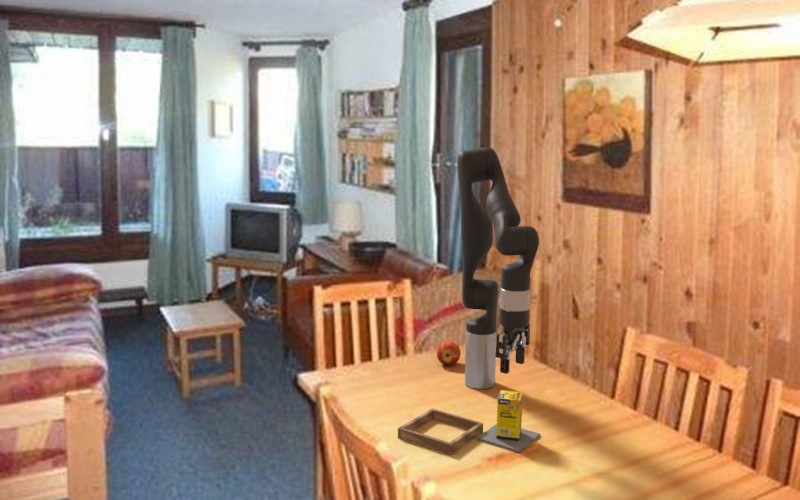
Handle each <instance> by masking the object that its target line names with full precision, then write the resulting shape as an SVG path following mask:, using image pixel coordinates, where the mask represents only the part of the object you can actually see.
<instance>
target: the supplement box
mask: <svg viewBox="0 0 800 500" xmlns="http://www.w3.org/2000/svg"><path fill="white" fill-rule="evenodd" d="M523 397H524V392H520V391H511V390H505V389H504V390H501V389H500V391H499V394H498V396H497V407H496V408H497V411H496V412H497V413H496V424H497V431H496V438H499V439H507V440H515V441H519V437H520V433H521V428H522V422H523V421H522V418H523V417H522V415H523V402H524V401H523V399H524V398H523Z"/></svg>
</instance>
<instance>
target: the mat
mask: <svg viewBox="0 0 800 500" xmlns="http://www.w3.org/2000/svg"><path fill="white" fill-rule="evenodd" d="M496 431H497V423H496V424H494V425H493V426H491V427H490V428H489V429H488V430H486V431H483V432H482V433H481V434H480V435H478V436H477V437H476V440H477V441H479V442H481V443H486V444H488V445H489V444H490V445H492V446H495V447H499V448H502V449H506V450H509V451H512V452H515V453H518V454H519V453H521V452H523V451H524V450H525V449H526V448H527V447H529V446H530V445H531V444H532V443H533V442H535V441H536V440H537V439H538V438H539V437H541V433H538V432H535V431H532V430H528V429H526V428H523V427H521V433H520V437H519V441H515V440H507V439H499V438H496Z"/></svg>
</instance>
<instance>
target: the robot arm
mask: <svg viewBox="0 0 800 500" xmlns="http://www.w3.org/2000/svg"><path fill="white" fill-rule="evenodd" d="M498 156H499V155H498V154H497V153H496V151H495V150H494V149H493V148H492V147H480V148H479V147H478V148H474V149H472V148H471V149H466V150H462V151H460V152H458V154H457V160H456V161H457V162H456V169H457V178H458V180H457V181H458V188H459V199H460V235H461V236H460V240H461V254H462V279H461V280H462V284H461V286H462V287H461V300H462V305H463V306H464V307H465V308H466V309H469V310H480V311H481V310H482V311H485V313H484V314H481V315H480V316H477V317H474V318H473V317H472V318H471V319H469V320H467V322H466V325H465V326H466V327H465V331H466V332H465V357H464V358H465V361H464V362H465V363H464V364H465V365H464V385H466V387H468V388H471V389H477V390H479V389H480V390H484V389H490V388H492V387H494V386H495V382H496V366H497V365H496V362H497V359H500V363H499V365H500V366H499V372H500V373H502V374H506V375H508V374H509V373H510V364H511V363H510V357H511V355H512V353H514V351H515V363H516V364H519V365H523V364H524V363H525V359H526V358H525V354H526V350H527V347H528V346H530V343H531V342H530V341H531V339H530V338H531V337H530V336H531V335H530V334H531V333H530V332H531V323H530V316H531V315H530V312H531V293H530V290H531V289H530V288H531V286H530V285H531V272H532V268H533V265H534V262H535V258H536V255H537V253H538V250H539V245H540V236H539V233H538V231H537V230H536V229H535V228H534V227H533V226H531V225H522V226H521V225H520V224H521V220H522V219H521V214H520V212H519V211H518V209H517V207H516V204H515V203H514V201H513V199H512V196H511V194H510V191H509V189H508V185H507V182H506V177H505V174H504V171H503V168H502V164H501V162H500V158H499V157H498ZM488 181H491V182H492V184H491V187H490V190H489V192H488V194H487V197H486V200H485V201H486V202H485V207H486V210H485V208H484V207H483V206H482V205H481V204H480V202H479V201H478V199H477V197H476V196H475V194H474V190H473V184H475V183H482V182H488ZM493 243H494V244H495V248H496V251H498V253H499V254H500V255H503V256H509V257H510V256H518V258H517V260H515V261H513V262H511V263H507V264H505V265H503V266H502V268H501V278H500V282H501V283H500V293H499V285H498V282H497V281H496V280H495V279H494V280H492V279H481V278H480V279H478V278H477V279H475V278H474V275H475V272H476V270H477V269H478V268H479V265H480V264H481V263H482V261H483V260H484V259H485V257H487V255H488V253H489V252H490V250H491V248H492V247H493ZM498 303H499V307H498ZM498 311H499V312H498ZM497 312H498V318H497ZM497 319H498V323H499V324H500V325H501V326H502V327H503V332H502V333H497Z"/></svg>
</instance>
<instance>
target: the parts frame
mask: <svg viewBox="0 0 800 500" xmlns="http://www.w3.org/2000/svg"><path fill="white" fill-rule="evenodd" d="M433 420H435V421H438V422H441V423H445V424H448V425H452V426H455V427H458V428H461V429H465V430H466V431H465V432H463V433H461V434H460V435H459V436H458V437H456V438H455V439H453V440H451V441H450V442H449V441H446V440H442V439H440V438H436V437H433V436H430V435H428V434H427V435H426V434H424V433H422V432H421V433H420V432H417V431H415V430H418V429H420V428H421V427H422V426H424V425H426V424H427V423H429V422H431V421H433ZM483 433H484V422H481V421H477V420H474V419H471V418H467V417H464V416H459V415H456V414H452V413H450V412H446V411H442V410H438V409H436V408H430V409H429V410H427V411H425V412H424V413H422V414H420V415H418V416H417V417H415V418H413V419H411V420H410V421H408V422H406V423H404V424H403V425H401V426H399V427H397V438H398V439H401V440H405V441H408V442H410V443H411V442H412V443H414V444H417V445H420V446H423V447H426V448H430V449H432V450H435V451H438V452H441V453H444V454H446V455H447V454H448V455H452V454H454V453H455V452H457V451H458V450H460V449H461V448H463V447H464V446H466V445H467V444H468V443H470V442H471V441H472V440H474V439H475V438H477V437H479V436H480V435H481V434H483Z"/></svg>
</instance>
